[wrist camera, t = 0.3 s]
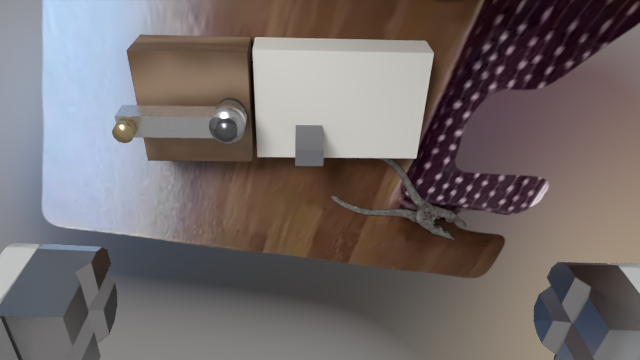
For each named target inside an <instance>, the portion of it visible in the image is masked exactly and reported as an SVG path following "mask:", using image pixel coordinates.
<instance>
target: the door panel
mask: <svg viewBox="0 0 640 360" xmlns="http://www.w3.org/2000/svg"><path fill="white" fill-rule="evenodd" d="M252 52H253V73H254V94H255V115H256V137H257V157H295V166H323V160H324V158H417V152H418V146H419V140H420V134H421V128H422V122H423V116H424V110H425V104H426V98H427V92H428V86H429V80H430V74H431V68H432V62H433V56H434V52H433V51H432V49H431V48H430V46H429V45H428V43H427V42H426V41H413V40H365V39H316V38H267V37H255V41H254V45H253V49H252Z"/></svg>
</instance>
